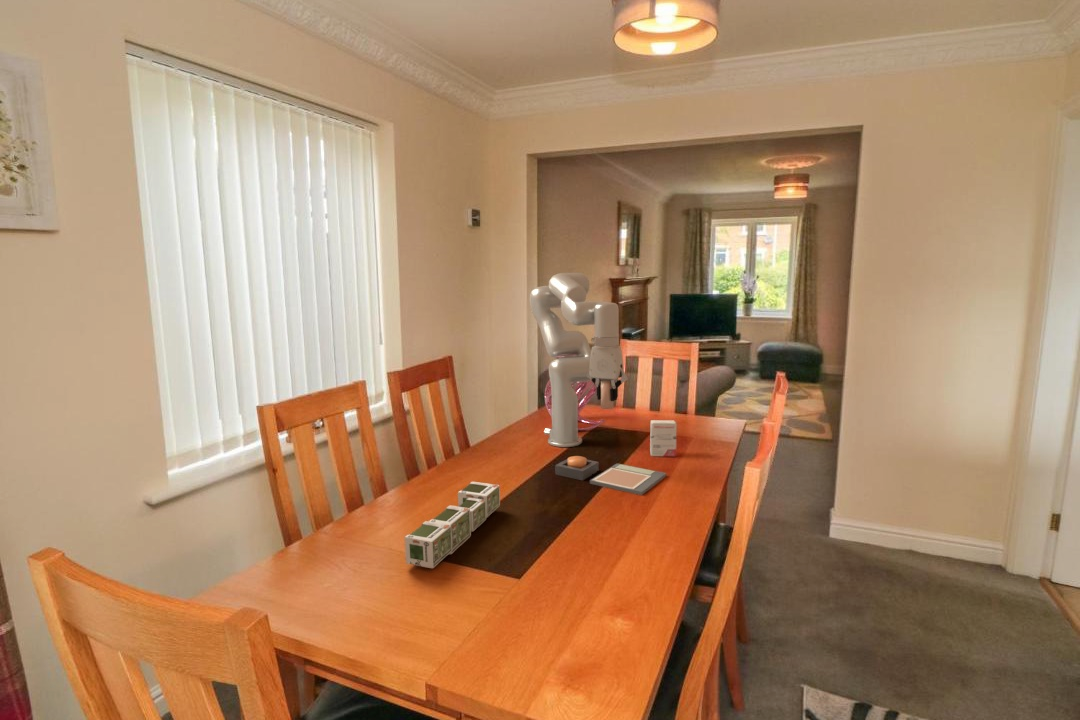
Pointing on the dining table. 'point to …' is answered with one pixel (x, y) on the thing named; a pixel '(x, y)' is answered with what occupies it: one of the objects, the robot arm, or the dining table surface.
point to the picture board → (628, 478)
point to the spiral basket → (580, 391)
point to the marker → (606, 394)
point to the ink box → (663, 438)
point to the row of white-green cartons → (452, 525)
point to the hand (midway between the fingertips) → (607, 399)
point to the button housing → (576, 470)
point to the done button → (577, 461)
